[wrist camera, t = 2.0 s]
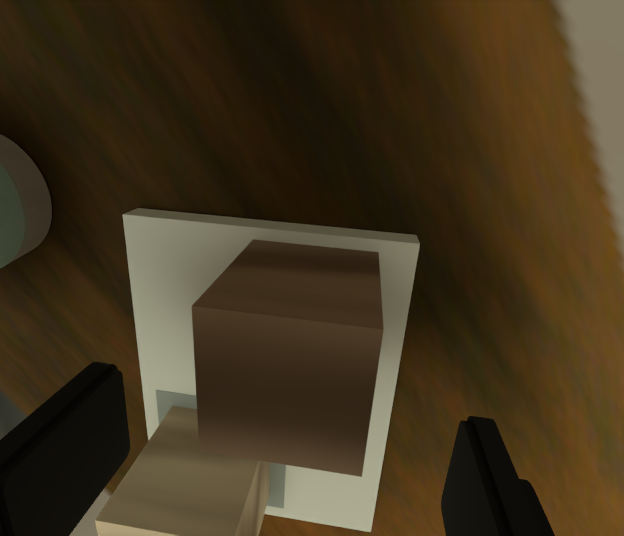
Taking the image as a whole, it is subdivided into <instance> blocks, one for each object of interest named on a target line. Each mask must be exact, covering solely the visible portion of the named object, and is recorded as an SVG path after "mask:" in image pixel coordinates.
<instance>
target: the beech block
mask: <svg viewBox="0 0 624 536" xmlns="http://www.w3.org/2000/svg"><path fill="white" fill-rule="evenodd" d="M269 486H270V462H265V461H259V460H253V459H246V458H240V457H234V456H227V455H221V454H215V453H209V452H202V451H199V436H198V418H197V409H191V408H184V407H177V406H172V407H171V408H170V410H169V411H168V413H167V414H166V416H165V417H164V419H163V420H162V422H161V423H160V425H159V426H158V428H157V429H156V431H155V432H154V434H153V435H152V437H151V438H150V440H149V441H148V443H147V444H146V445H145V447H144V448H143V450H142V451H141V453H140V454H139V456H138V457H137V459H136V460H135V462H134V463H133V465H132V466H131V468H130V469H129V471H128V472H127V474H126V475H125V477H124V478H123V480H122V481H121V483H120V484H119V486H118V487H117V488H116V490H115V491H114V493H113V494H112V496H111V497H110V499H109V500H108V502H107V503H106V505H105V506H104V508H103V509H102V511H101V512H100V514H99V515H98V517H97V518H96V520H95V523H96V528H97V532H98V536H259V532H260V528H261V525H262V521H263V517H264V513H265V509H266V506H267V502H268V498H269Z"/></svg>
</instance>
